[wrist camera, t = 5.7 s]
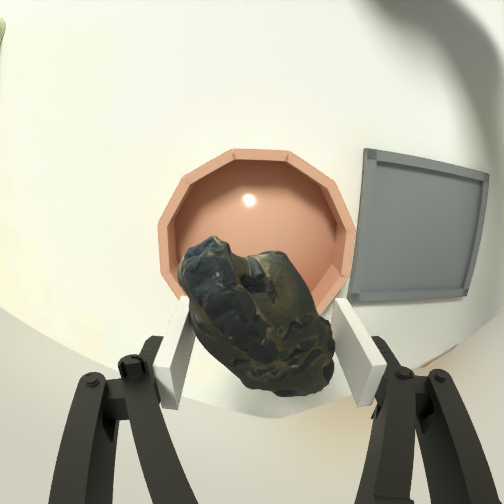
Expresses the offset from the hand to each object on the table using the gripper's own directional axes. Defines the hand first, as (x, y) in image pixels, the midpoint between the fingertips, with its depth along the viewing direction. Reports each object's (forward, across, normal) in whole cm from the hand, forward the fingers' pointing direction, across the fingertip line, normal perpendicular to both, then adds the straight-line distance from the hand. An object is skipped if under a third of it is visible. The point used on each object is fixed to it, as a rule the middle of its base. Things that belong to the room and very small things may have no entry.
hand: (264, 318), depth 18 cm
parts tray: (+17, +22, +2) cm, 28 cm away
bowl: (+17, 0, 0) cm, 17 cm away
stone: (+1, 0, 0) cm, 1 cm away
